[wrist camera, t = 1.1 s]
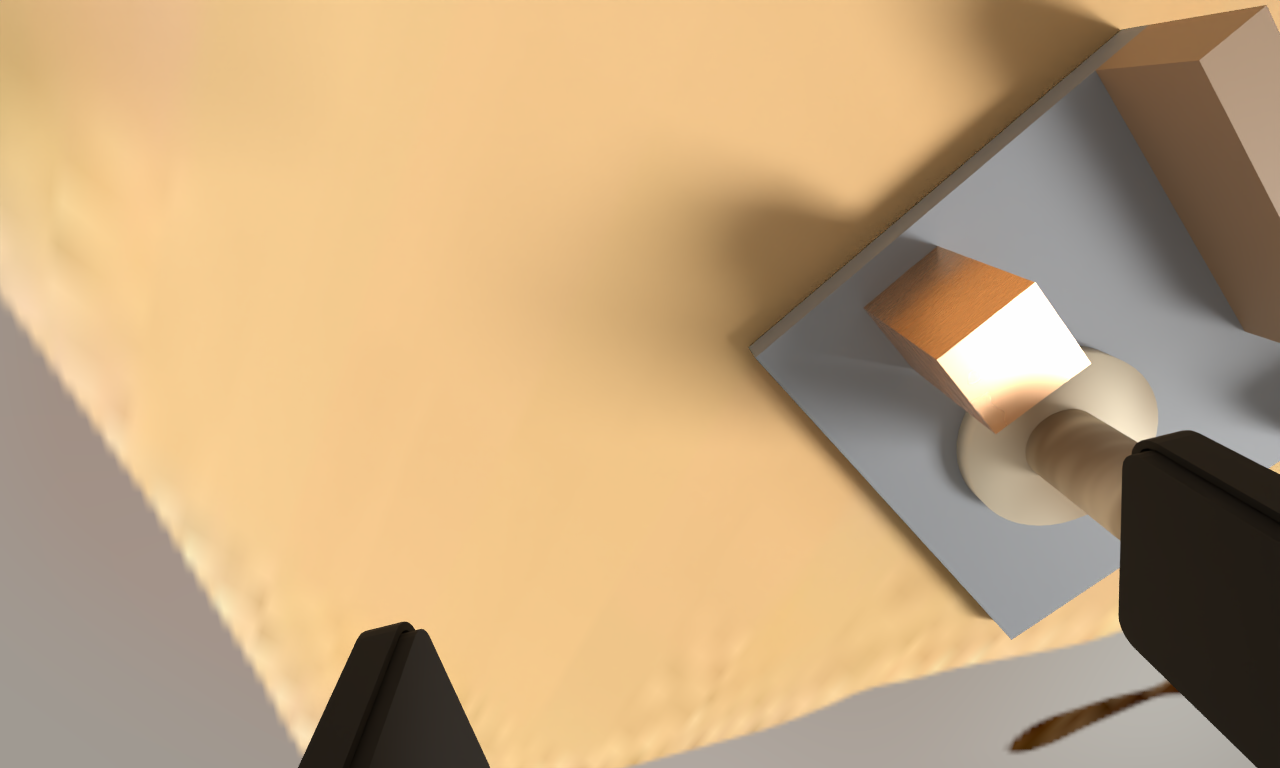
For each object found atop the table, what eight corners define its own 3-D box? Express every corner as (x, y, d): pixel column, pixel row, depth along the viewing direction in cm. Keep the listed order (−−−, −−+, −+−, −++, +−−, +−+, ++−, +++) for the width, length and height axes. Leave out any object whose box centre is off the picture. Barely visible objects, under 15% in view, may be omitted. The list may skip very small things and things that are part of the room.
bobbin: (1084, 306, 31) (1445, 444, 18) (1170, 434, 33) (1535, 636, 20) (921, 431, 32) (1138, 640, 19) (1015, 543, 35) (1260, 791, 22)
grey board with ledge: (1121, 29, 28) (1266, 5, 22) (1323, 400, 35) (1475, 458, 29) (748, 347, 32) (783, 400, 26) (996, 621, 39) (1069, 713, 33)
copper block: (937, 245, 29) (1035, 282, 23) (985, 311, 30) (1091, 363, 24) (863, 307, 30) (936, 359, 24) (912, 368, 31) (995, 434, 25)
